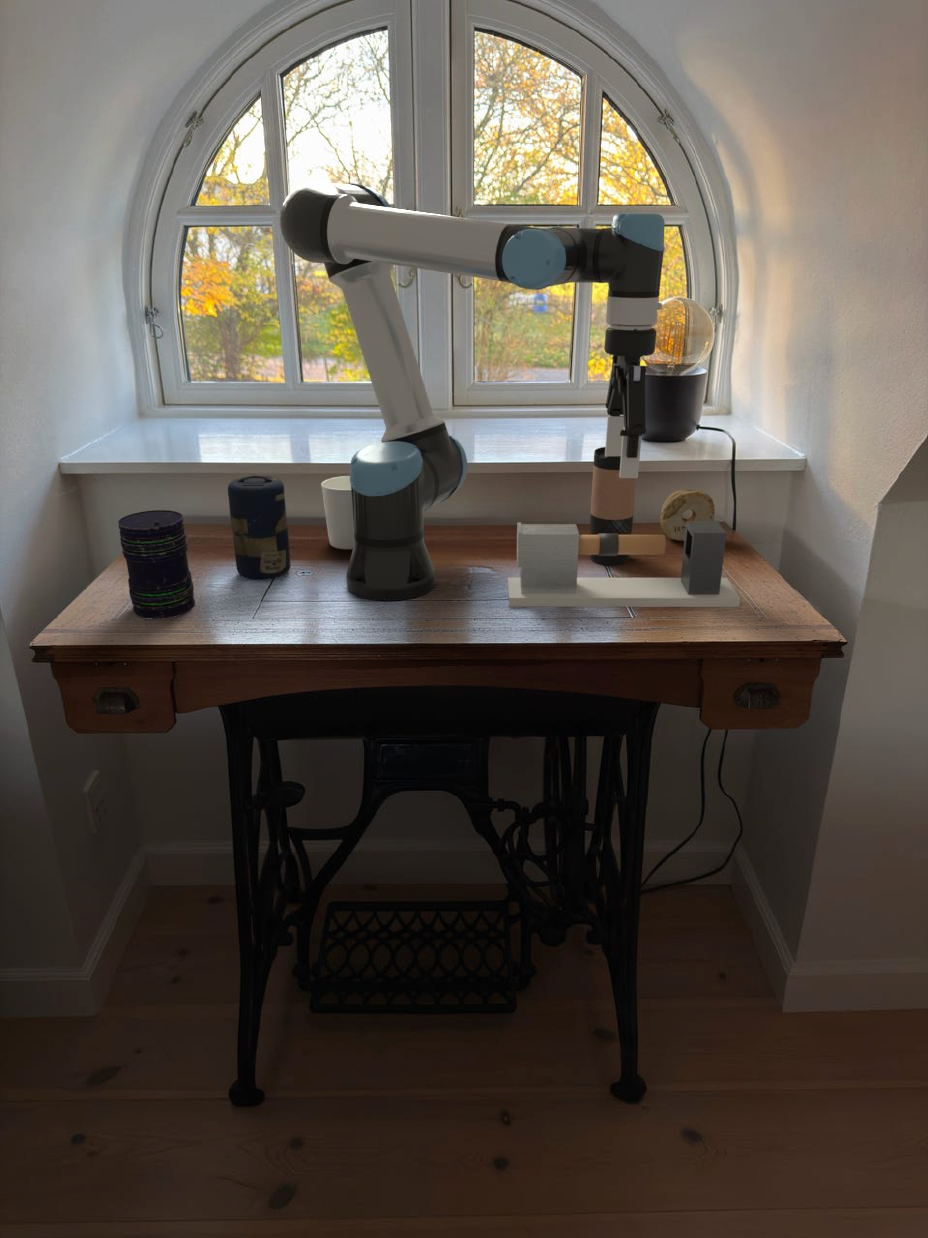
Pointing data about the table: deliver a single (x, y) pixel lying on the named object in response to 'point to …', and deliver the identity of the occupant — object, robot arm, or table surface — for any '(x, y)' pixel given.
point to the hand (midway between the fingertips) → (620, 466)
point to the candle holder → (339, 511)
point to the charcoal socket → (703, 557)
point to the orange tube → (621, 544)
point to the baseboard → (624, 594)
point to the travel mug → (611, 502)
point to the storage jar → (157, 563)
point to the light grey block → (548, 558)
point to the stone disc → (678, 505)
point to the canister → (259, 527)
